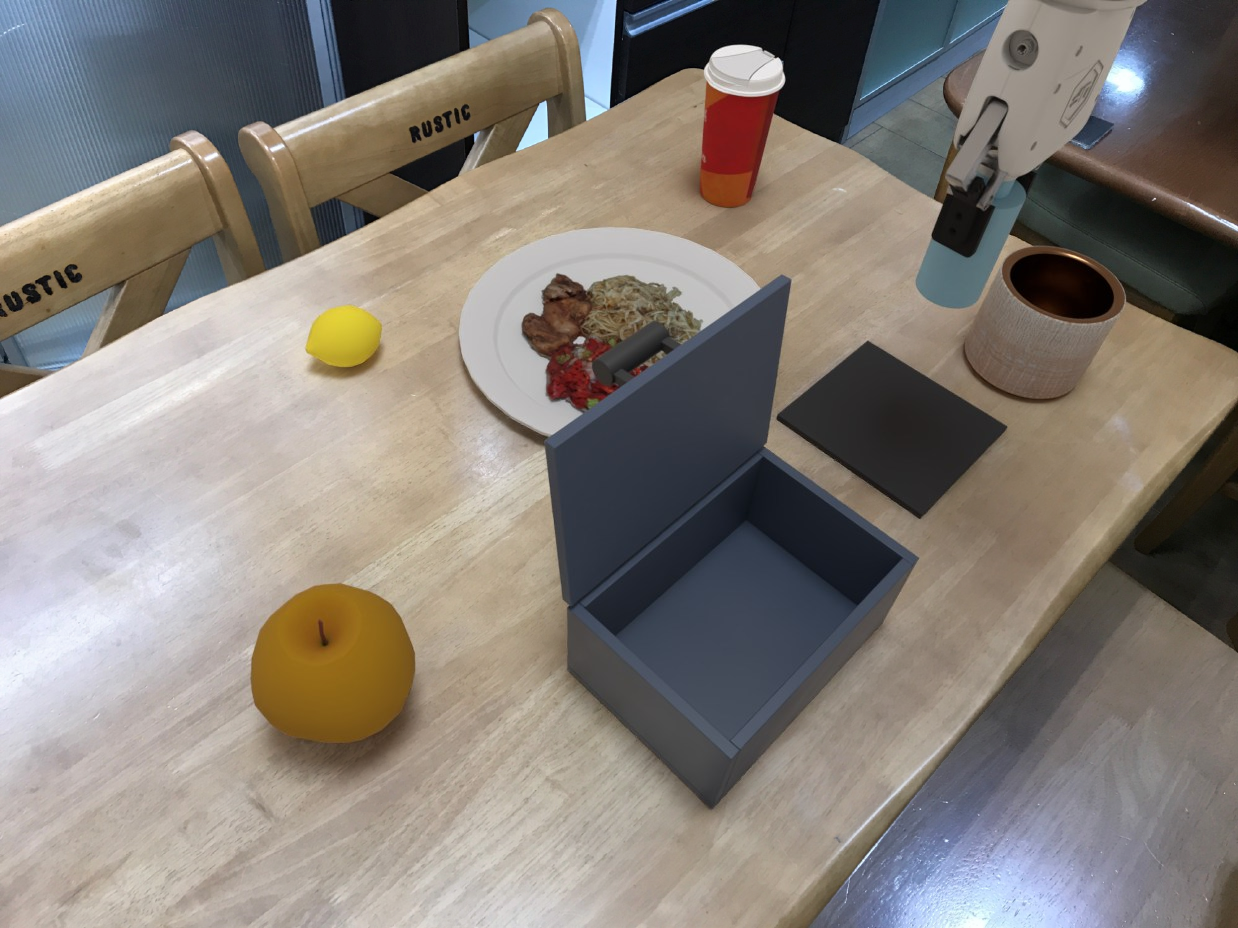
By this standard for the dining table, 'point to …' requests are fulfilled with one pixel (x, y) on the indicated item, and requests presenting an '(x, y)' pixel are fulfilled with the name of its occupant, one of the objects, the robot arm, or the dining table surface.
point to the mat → (892, 427)
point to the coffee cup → (737, 121)
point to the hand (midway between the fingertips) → (973, 228)
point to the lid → (661, 434)
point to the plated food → (585, 314)
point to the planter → (1043, 321)
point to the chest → (734, 619)
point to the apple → (332, 665)
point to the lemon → (344, 336)
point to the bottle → (965, 278)
